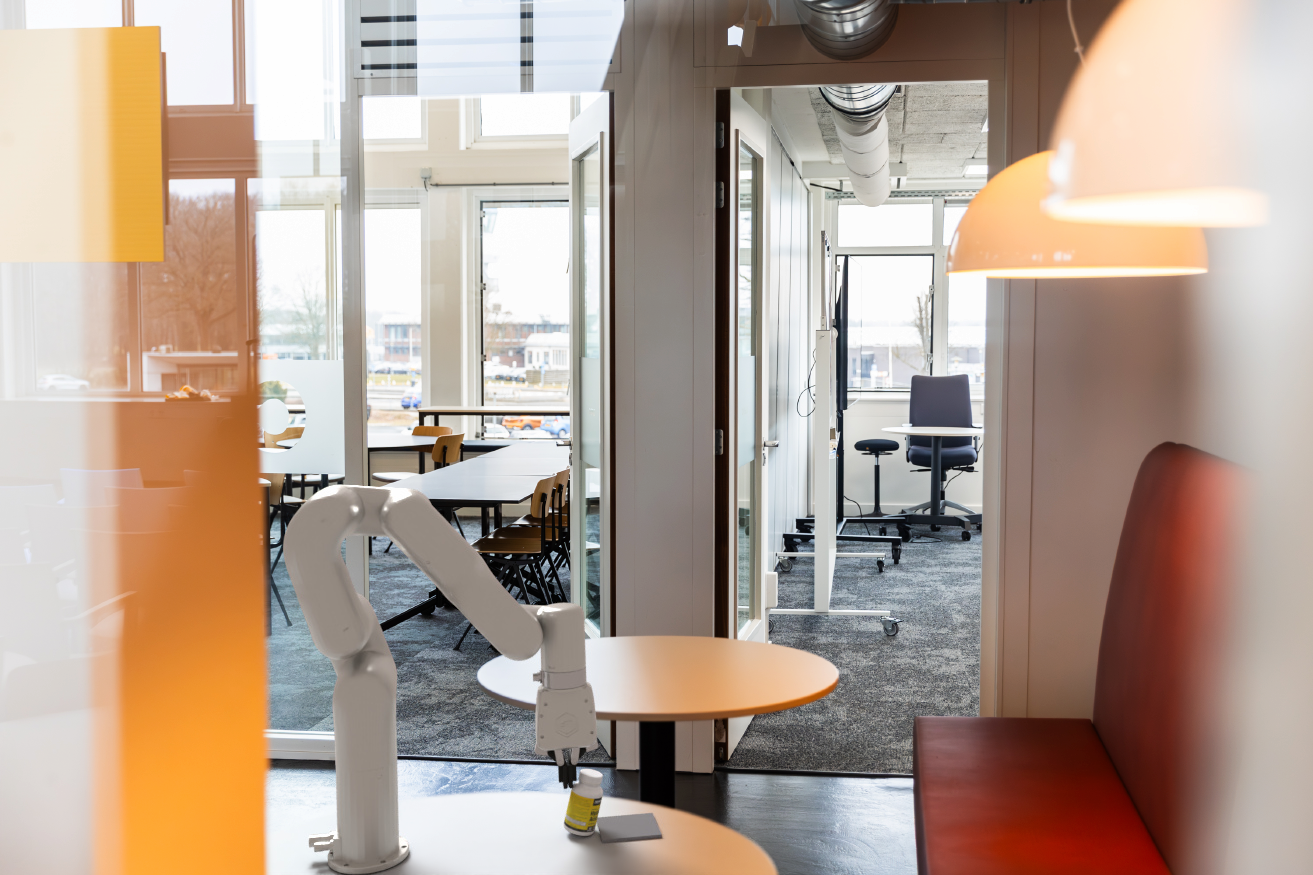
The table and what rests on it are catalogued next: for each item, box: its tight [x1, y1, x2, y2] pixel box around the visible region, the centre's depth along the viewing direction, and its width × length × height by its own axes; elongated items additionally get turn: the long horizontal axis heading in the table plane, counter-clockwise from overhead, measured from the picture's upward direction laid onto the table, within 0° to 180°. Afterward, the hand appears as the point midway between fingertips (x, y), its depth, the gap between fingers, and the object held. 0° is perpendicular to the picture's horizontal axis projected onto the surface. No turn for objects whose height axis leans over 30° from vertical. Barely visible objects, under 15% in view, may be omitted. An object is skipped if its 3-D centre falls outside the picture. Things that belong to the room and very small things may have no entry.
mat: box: [596, 812, 663, 844], centre depth 164 cm, size 10×9×1 cm
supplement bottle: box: [563, 768, 604, 837], centre depth 162 cm, size 5×5×10 cm
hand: (567, 785), depth 162 cm, fingers closed
